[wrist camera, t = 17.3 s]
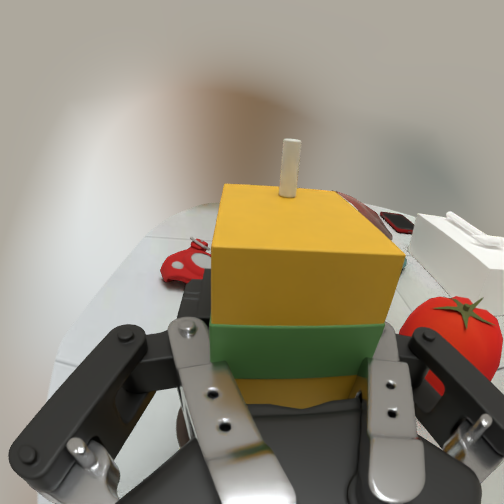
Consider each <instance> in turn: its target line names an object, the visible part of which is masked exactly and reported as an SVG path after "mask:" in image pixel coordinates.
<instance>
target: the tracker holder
mask: <svg viewBox="0 0 504 504" xmlns="http://www.w3.org/2000/svg"><path fill="white" fill-rule="evenodd" d="M190 239H191V240H192V242H191V247H190V248H188V249H187V250H183V251H180V252H177V253H175V254H172V255H170V256H169V257H167V258H166V260H165V261H164V263H163V265H162V267H161V269H160V272H161V274H162V277H163V279H164V281H165V282H170V281H172V280H179V281H182V282H185V283H188V282H189V281H191V280H192V279H203V274H204V269H205V268H210V269H211V254H209V253H207V252H205V251H206V250H208V251H209V250H210V248H208V243H206V242H204V241H203V240H200V239H195V238H193V237H190Z"/></svg>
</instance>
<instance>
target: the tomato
mask: <svg viewBox="0 0 504 504" xmlns="http://www.w3.org/2000/svg"><path fill="white" fill-rule="evenodd" d="M483 298H484V297H483ZM483 298H481V299H479V300H478V301H476V302H475V303H474V304H473V303H472V302H471V300H470V299H469V298H464V297H458V296H455V297H452V298H446V297H445V298H444V297H436V298H431V299H429V300H427V301H426V302H424V303H423V304H421V305H420V306H418V307H417V308H416V309H415V310H414V311H413V312H412V313H411V314H410V315H409V317H408V318H407V320H406V322H405V323H404V325H403V326H402V328H401V329H400V332H399V335H405V336H412V334H413V332H414V330H415V329H416V328H419V327H427V328H431V329H433V330H435V331H436V332H438V333H439V334H440V335H441V336H442V337H443V338H444V339H446V340H447V341H448V342H449V343H450V344H451V345H452V346H453V347H454V348H455V349H457V350H458V351H459V352H460V353H461V354H462V355H463V356H464V357H465V358H466V359H467V360H468V361H469V362H471V363H472V364H473V365H474V366H475V367H476V368H477V369H478V370H479V371H480V372H481V373H482V374H483V375H484V376H485V377H486V378H487V379H488V380H489V381H490V382H491V380H492V378H493V376H494V374H495V372H496V370H497V369H498V367H499V363H500V358H501V352H502V344H503V337H502V334H501V330H500V327H499V323H498V320H497V319H496V318H495V317H494V316H493V315H492V314H491V313H489V312H488V311H487V310H484V309H479V308H476V306H477V305H478V304H479V303H480V302H481V301H482V299H483ZM425 379H426V380H427V381H428V382H429V383H430V385H431V386H432V387H433V388H434V389H435V390H436V391H437V392H438V393H439V394H440V395H441V396H442V395H443V394H444V390H445V388H444V385H443V383H442V382H441V381H440V379H439V378H438V377H437V376H436V375H435V374H434V373H433V372H432V371H431V370H429V371H428V373H427V375H426V377H425Z"/></svg>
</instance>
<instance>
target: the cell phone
mask: <svg viewBox="0 0 504 504" xmlns="http://www.w3.org/2000/svg"><path fill="white" fill-rule="evenodd" d="M380 215H381V216H382V217H383V218H384V219H385V220H386V221H387V222H388V223H389V224H390V225H391V226H392V227H393V228H394V229H395V230H396V231H398V232H402V233H411V234H412V233H413V229H414V224H413V223H412V222H410V221H409V220H408V219H407V218H406V217H404V216H403V215H401V214H395V213H388V212H380Z"/></svg>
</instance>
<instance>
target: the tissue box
mask: <svg viewBox="0 0 504 504" xmlns="http://www.w3.org/2000/svg"><path fill="white" fill-rule="evenodd" d="M446 216H447V217H448V218H445V217H438V216H432V215H425V214H418V213H417V216H416V220H415V225H414V229H413V233H412V237H411V241H410V245H409V249H408V252H409V253H410V254H411V255H412V256H413V257H414V258H415V259H416V260H417V261H418V262H419V263H420V264H421V265H422V266H423V267H424V268H425V269H426V270H427V271H428V272H429V273H430V274H431V275H432V277H433V278H434V279H435V280H436V281H437V282H438V283H439V284H440V285H441V286H442V287H443V288H444V290H445V291H446V292H447V293H448V294H449V295H450V296H451V297H455V296H458V297H464V298H469V299H470V300H471V302H472V303H473V304H474V303H475V302H476V301H478V300H479V299H481V298H483V297H484V298H483V299H482V301H481V302H480V303H479V304H478V305H477V306H476V308H479V309H484V310H487V311H488V312H489V313H491V314H492V315H493V316H501V315H504V238H503V237H498V236H496V237H495V236H488V235H486V234H484V233H483V232H481V231H480V230H478V229H477V228H475V227H474V226H472V225H471V224H469V223H468V222H466V221H464V220H463V219H461V218H460V217H459V216H457V215H456V214H454V213H453V212H447V214H446Z"/></svg>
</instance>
